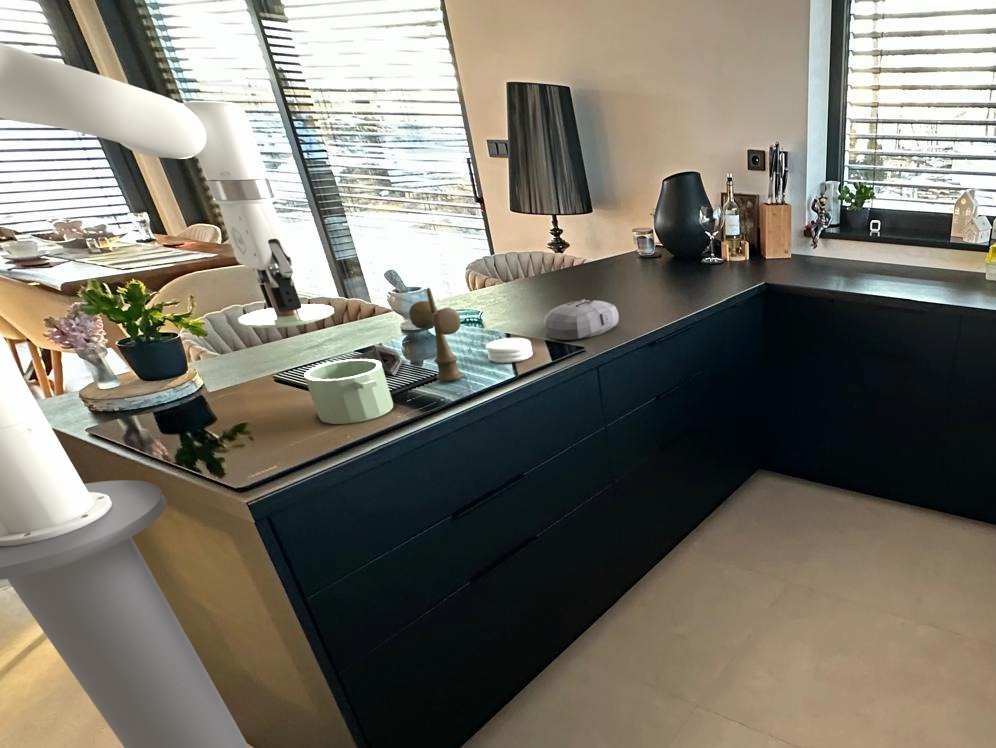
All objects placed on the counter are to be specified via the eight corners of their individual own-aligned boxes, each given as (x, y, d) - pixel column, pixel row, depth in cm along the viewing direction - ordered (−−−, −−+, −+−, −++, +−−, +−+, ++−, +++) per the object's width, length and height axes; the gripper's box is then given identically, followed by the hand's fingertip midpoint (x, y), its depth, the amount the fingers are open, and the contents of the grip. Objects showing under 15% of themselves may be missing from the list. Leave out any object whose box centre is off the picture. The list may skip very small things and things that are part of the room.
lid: (261, 336, 98) (244, 294, 95) (227, 322, 105) (211, 283, 101) (349, 318, 108) (337, 279, 105) (314, 306, 114) (301, 270, 111)
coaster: (486, 353, 152) (483, 340, 151) (529, 348, 157) (527, 335, 155) (490, 366, 145) (487, 351, 143) (536, 360, 149) (533, 346, 147)
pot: (346, 433, 112) (331, 388, 108) (300, 410, 120) (285, 368, 116) (413, 411, 121) (401, 369, 117) (367, 392, 129) (354, 352, 125)
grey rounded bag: (586, 320, 181) (532, 337, 165) (582, 291, 177) (527, 306, 161) (627, 327, 175) (576, 346, 159) (624, 297, 172) (571, 313, 156)
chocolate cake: (369, 364, 145) (336, 340, 133) (400, 353, 146) (369, 329, 135) (380, 399, 143) (347, 378, 131) (411, 387, 144) (381, 366, 132)
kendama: (451, 371, 141) (429, 282, 132) (476, 380, 136) (455, 288, 127) (424, 379, 136) (400, 286, 127) (450, 388, 132) (427, 293, 123)
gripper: (191, 190, 98) (238, 305, 106) (235, 197, 90) (281, 321, 99) (249, 187, 104) (288, 297, 112) (294, 193, 96) (333, 311, 104)
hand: (285, 307), depth 105 cm, fingers closed on lid, 3 cm apart
